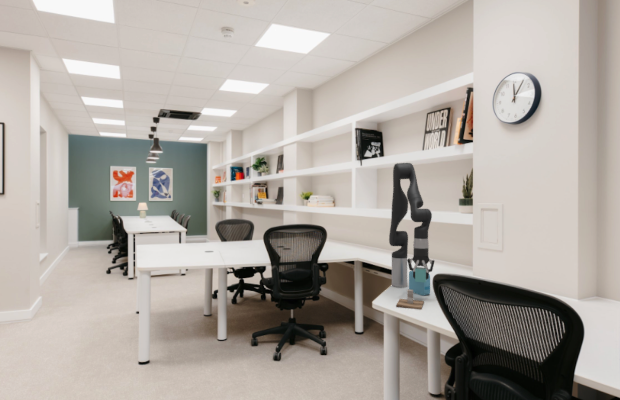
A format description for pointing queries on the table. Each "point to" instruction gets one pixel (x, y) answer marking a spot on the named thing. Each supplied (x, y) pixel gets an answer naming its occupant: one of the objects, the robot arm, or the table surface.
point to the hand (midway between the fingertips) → (420, 278)
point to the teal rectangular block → (420, 274)
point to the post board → (413, 306)
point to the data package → (419, 285)
